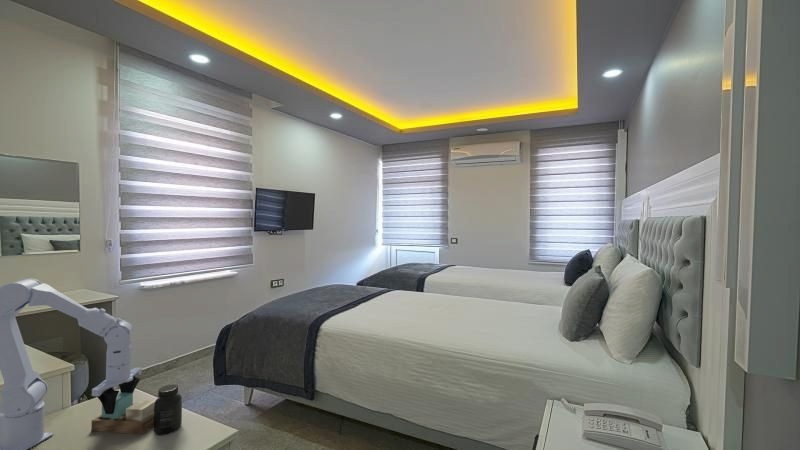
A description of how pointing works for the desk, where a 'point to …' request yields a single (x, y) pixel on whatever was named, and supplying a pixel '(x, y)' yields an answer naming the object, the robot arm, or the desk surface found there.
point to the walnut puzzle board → (122, 425)
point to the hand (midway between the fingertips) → (117, 408)
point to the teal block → (120, 405)
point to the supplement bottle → (167, 410)
